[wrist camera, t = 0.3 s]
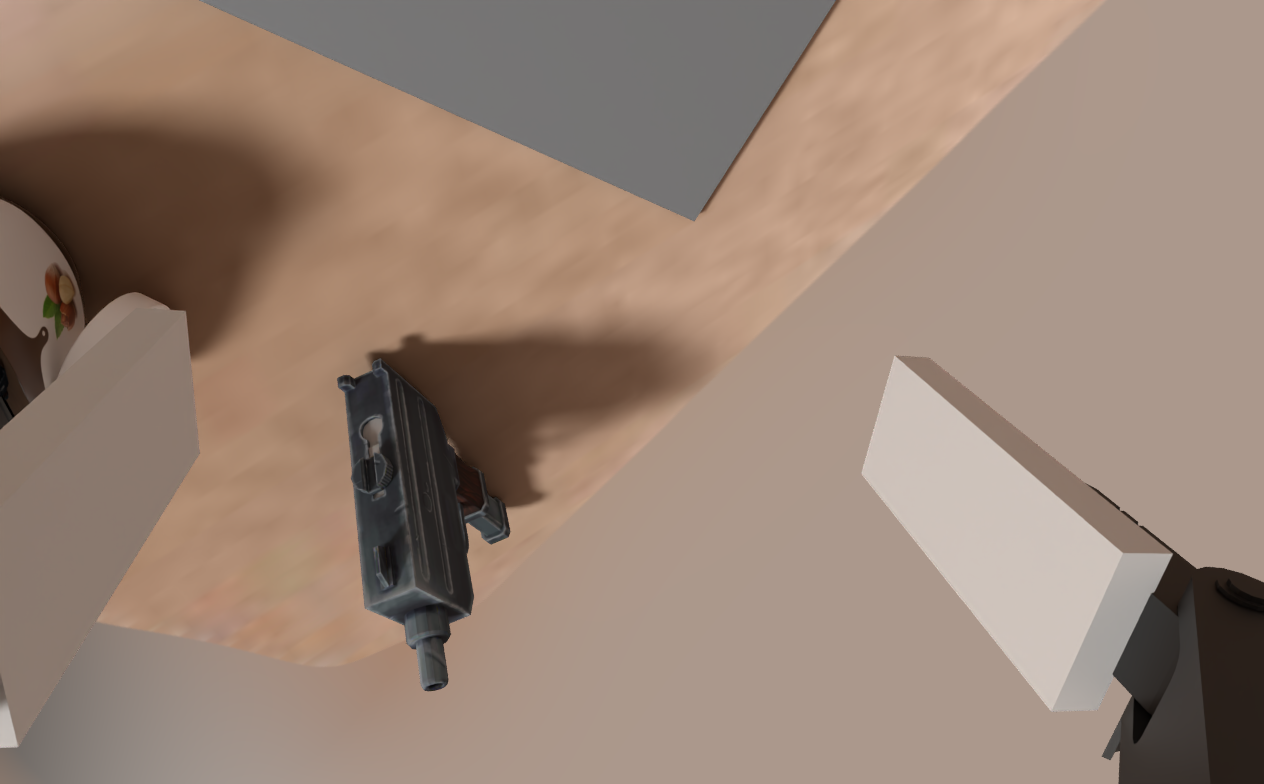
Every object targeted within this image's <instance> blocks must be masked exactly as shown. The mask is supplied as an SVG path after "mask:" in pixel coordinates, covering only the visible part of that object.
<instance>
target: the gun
mask: <svg viewBox="0 0 1264 784" xmlns="http://www.w3.org/2000/svg"><path fill="white" fill-rule="evenodd" d="M372 368H373V370H372V371H370V372H368V373H365V374H363V375H361V376H359V377H357V378H355V379H354V378H352V377H351V376H350V375H343V376H341V377H339V378H337V381H338V388H340V389H341V390H342V391H343V392H345V401H346V412H347V422H348V433H349V444H350V455H351V466H352V476H351V480H352V482H353V487H354V498H355V509H356V520H357V530H358V541H359V552H360V563H361V574H362V584H363V595H364V606H365V609H367V610H370V611H372V612H374V613H377V614H379V615H381V616H384V617H386V618H388V619H391V620H393V621H395V622H398V623H400V624H402V625H404V626H405V634H406V642H407V644H408V645H409V646H410V647H411V648H412V649H416V650H417V657H418V666H419V674H420V682H421V686H422V688H423V689H424V690H425V691H435V690H439V689H442V688H444V687H445V686H446V685H447V684H448V673H447V666H446V659H445V653H444V646H443V644H444V643H446V642H447V640H448V639H449V637H450V635H451V633H450V626H449V624H450V623H452V622H455V621H457V620H459V619H462V618H464V617H467V616H469V615H471V610H472V605H473V599H474V594H473V588H472V583H471V577H470V571H469V565H468V559H467V553H468V549H469V541H468V534H467V529H466V523H469V524H470V525H472V526H473V527H475V528H476V529H478V530H479V531H480V532H481V536H482V538H483V539H484V540H485V541H487V542H488V543H489V544H493V543H496V542H498V541H501V540H503V539H505V538H508V537H509V534H510V527H509V522H508V517H507V513H506V508H505V504H504V503H503V502H502V501H500V500H499V499H498V498H497V497H495V498H492V497H490V496H489V495H488V494H487V489H486V484H485V479H484V474H483V473H482V472H481V471H480V470H479V469H477V468H475V467H469V466H467V465H466V464H465V463H464V462H463V461H462V460H461V459H460V458H459V457H458V456H457V455H456V454H455V452H454V449H453V448H452V447H451V446H450V445H449V444H448V443H447V438H446V435H445V432H444V429H443V426H442V423H441V420H440V418H439V415H438V412H437V409H436V407H435V406H434V405H433V404H432V403H431V402H430V401H428V400H427V399H426V398H425V397H424V396H423V395H422V394H420V393H419V392H418V391H417V390H416V389H415V388H414V387H412V386H411V385H410V384H409V383H408V382H407V381H406V380H404V379H403V378H402V377H401V376H400V375H399V374H398V373H397V372H395V371H394V370H393V369H392V368H391V367H390V366H389V365H387V364H386V363H385V362H384V361H383V360H382V359H381V358H380V359H378V360H376V361H374V362H373V364H372Z"/></svg>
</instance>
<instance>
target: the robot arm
mask: <svg viewBox="0 0 1264 784" xmlns="http://www.w3.org/2000/svg"><path fill="white" fill-rule="evenodd" d="M199 454H200V451H199V440H198V430H197V420H196V409H195V399H194V389H193V379H192V368H191V358H190V348H189V338H188V327H187V317H186V311H178V310H162V309H147V308H135V309H134V310H133V311H132V312H131V313H130V314H129V315H128V316H126V317H125V318H124V319H123V320H122V321H121V322H120V323H119V324H118V325H116V326H115V327H114V328H113V329H112V330H111V331H110V332H109V333H108V334H106V335H105V336H104V337H103V338H102V339H101V340H100V341H99V342H98V343H96V344H95V345H94V346H93V347H92V348H91V349H90V350H89V351H87V352H86V353H85V354H84V355H83V356H82V357H81V358H80V359H79V360H77V361H76V362H75V363H74V364H73V365H72V366H71V367H70V368H69V369H67V370H66V371H65V372H64V373H63V374H62V375H61V376H60V377H59V378H57V379H56V380H55V381H54V382H53V383H52V384H51V385H50V386H49V387H47V388H46V389H45V390H44V391H43V392H42V393H41V394H40V395H38V396H37V397H36V398H35V399H34V400H33V401H32V402H31V403H30V404H28V405H27V406H26V407H25V408H24V409H23V410H22V411H21V412H20V413H18V414H17V415H16V416H15V417H14V418H13V419H12V420H11V421H10V422H8V423H7V424H6V425H5V426H4V427H3V428H2V429H1V430H0V748H1V747H18V746H19V745H20V743H21V741H22V740H23V738H24V737H25V735H26V733H27V732H28V730H29V729H30V727H31V725H32V724H33V722H34V721H35V719H36V717H37V716H38V714H39V712H40V711H41V709H42V708H43V706H44V704H45V703H46V701H47V699H48V698H49V696H50V695H51V693H52V691H53V690H54V688H55V686H56V685H57V683H58V682H59V680H60V678H61V677H62V675H63V674H64V672H65V670H66V669H67V667H68V666H69V664H70V662H71V661H72V659H73V657H74V656H75V654H76V653H77V651H78V649H79V648H80V646H81V644H82V643H83V641H84V640H85V638H86V636H87V635H88V633H89V631H90V630H91V628H92V627H93V625H94V623H95V622H96V620H97V619H98V617H99V615H100V614H101V612H102V611H103V609H104V607H105V606H106V604H107V602H108V601H109V599H110V598H111V596H112V594H113V593H114V591H115V590H116V588H117V586H118V585H119V583H120V581H121V580H122V578H123V577H124V575H125V573H126V572H127V570H128V568H129V567H130V565H131V564H132V562H133V560H134V559H135V557H136V556H137V554H138V552H139V551H140V549H141V547H142V546H143V544H144V543H145V541H146V539H147V538H148V536H149V535H150V533H151V531H152V530H153V528H154V526H155V525H156V523H157V522H158V520H159V518H160V517H161V515H162V514H163V512H164V510H165V509H166V507H167V505H168V504H169V502H170V501H171V499H172V497H173V496H174V494H175V492H176V491H177V489H178V488H179V486H180V484H181V483H182V481H183V480H184V478H185V476H186V475H187V473H188V471H189V470H190V468H191V467H192V465H193V463H194V462H195V460H196V459H197V457H198V455H199ZM862 475H863V476H864V478H865V479H866V480H867V481H868V483H869V484H870V485H871V486H872V487H873V489H874V490H875V491H876V493H877V494H878V495H879V496H880V498H881V499H882V500H883V501H884V503H885V504H886V505H887V506H888V508H889V509H890V510H891V511H892V513H893V514H894V515H895V516H896V518H897V519H898V520H899V521H900V523H901V524H902V525H903V526H904V527H905V529H906V530H907V531H908V533H909V534H910V535H911V536H912V538H913V539H914V540H915V541H916V543H917V544H918V545H919V546H920V548H921V549H922V550H923V551H924V553H925V554H926V555H927V556H928V558H929V559H930V560H931V561H932V563H933V564H934V565H935V566H936V568H937V569H938V570H939V571H940V573H941V574H942V575H943V576H944V578H945V579H946V580H947V582H948V583H949V584H950V585H951V587H952V588H953V589H954V590H955V592H956V593H957V594H958V595H959V597H960V598H961V599H962V600H963V601H964V603H965V604H966V605H967V607H968V608H969V609H970V610H971V611H972V613H973V614H974V615H975V616H976V618H977V619H978V620H979V621H980V623H981V624H982V625H983V627H984V628H985V629H986V630H987V632H988V633H989V634H990V635H991V637H992V638H993V639H994V640H995V641H996V643H997V644H998V645H999V647H1000V648H1001V649H1002V650H1003V652H1004V653H1005V654H1006V655H1007V657H1008V658H1009V659H1010V660H1011V662H1012V663H1013V664H1014V665H1015V667H1016V668H1017V669H1018V670H1019V672H1020V673H1021V674H1022V675H1023V677H1024V678H1025V679H1026V680H1027V682H1028V683H1029V684H1030V685H1031V687H1032V688H1033V689H1034V690H1035V692H1036V693H1037V694H1038V695H1039V697H1040V698H1041V699H1042V700H1043V702H1044V703H1045V704H1046V705H1047V707H1048V708H1049V709H1050V710H1051V711H1053V712H1054V711H1083V710H1098V708H1099V706H1100V704H1101V702H1102V700H1103V698H1104V696H1105V694H1106V691H1107V689H1108V687H1109V685H1110V683H1111V681H1112V679H1113V677H1116V679H1117V680H1118V681H1119V682H1120V683H1121V684H1122V685H1123V686H1124V687H1125V688H1126V689H1127V690H1128V691H1129V693H1130V694H1131V695H1132V697H1131V699H1130V701H1129V703H1128V705H1127V707H1126V709H1125V711H1124V713H1123V715H1122V717H1121V719H1120V721H1119V723H1118V725H1117V727H1116V729H1115V731H1114V733H1113V735H1112V737H1111V739H1110V741H1109V743H1108V745H1107V747H1106V749H1105V751H1104V753H1103V755H1102V757H1104V758H1107V759H1109V760H1111V758H1112V757H1113V755H1114V753H1115V752H1117V751H1120V763H1119V784H1264V582H1261V581H1259V580H1256V579H1254V578H1252V577H1249V576H1247V575H1244V574H1242V573H1239V572H1235V571H1231V570H1227V569H1224V568H1215V567H1203V568H1200V569H1196V568H1195V567H1194V566H1192V565H1191V564H1190V563H1189V562H1188V561H1186V560H1185V559H1184V558H1183V557H1181V556H1180V555H1179V554H1177V553H1176V552H1175V551H1174V550H1172V549H1171V548H1170V547H1169V546H1167V545H1166V544H1165V543H1164V542H1162V541H1161V540H1160V539H1159V538H1157V537H1156V536H1155V535H1154V534H1152V533H1151V532H1150V531H1149V530H1147V529H1146V528H1145V527H1144V526H1138V522H1137V521H1136V520H1135V519H1134V518H1132V517H1131V516H1130V515H1129V514H1127V513H1126V512H1125V511H1120V507H1118V506H1117V505H1116V504H1115V503H1114V502H1112V501H1111V500H1110V499H1109V498H1107V497H1106V496H1105V495H1103V494H1102V493H1101V492H1100V491H1099V490H1097V489H1095V488H1094V487H1092V486H1090V485H1088V484H1086V483H1084V482H1083V481H1082V480H1081V479H1079V478H1078V477H1077V476H1076V475H1074V474H1073V473H1072V472H1071V471H1069V470H1068V469H1067V468H1066V467H1064V466H1063V465H1062V464H1061V463H1059V462H1058V461H1057V460H1056V459H1054V458H1053V457H1052V456H1051V455H1049V454H1048V453H1047V452H1046V451H1044V450H1043V449H1042V448H1041V447H1040V446H1038V445H1037V444H1036V443H1034V442H1033V441H1032V440H1031V439H1030V438H1028V437H1027V436H1026V435H1025V434H1023V433H1022V432H1021V431H1020V430H1018V429H1017V428H1016V427H1014V426H1013V425H1012V424H1011V423H1009V422H1008V421H1007V420H1006V419H1005V418H1003V417H1002V416H1001V415H1000V414H998V413H997V412H996V411H995V410H993V409H992V408H991V407H990V406H988V405H987V404H986V403H985V402H983V401H982V400H981V399H980V398H979V397H977V396H976V395H975V394H974V393H972V392H971V391H970V390H969V389H967V388H966V387H965V386H963V385H962V384H961V383H960V382H958V381H957V380H956V379H955V378H954V377H952V376H951V375H950V374H949V373H947V372H946V371H945V370H943V369H942V368H941V367H940V366H939V365H937V364H936V363H935V362H934V361H933V360H931V359H930V358H926V357H910V356H894V359H893V363H892V367H891V370H890V374H889V377H888V381H887V385H886V388H885V392H884V395H883V398H882V402H881V406H880V409H879V413H878V416H877V420H876V423H875V427H874V430H873V434H872V438H871V441H870V445H869V449H868V452H867V455H866V459H865V462H864V466H863V470H862Z"/></svg>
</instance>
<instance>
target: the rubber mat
mask: <svg viewBox="0 0 1264 784" xmlns="http://www.w3.org/2000/svg"><path fill="white" fill-rule="evenodd" d="M200 1H202V2H204V3H206V4H209V5H211V6H213V7H215V8H218V9H220V10H222V11H224V12H227V13H229V14H231V15H233V16H236V17H238V18H240V19H242V20H245V21H247V22H249V23H251V24H254V25H256V26H258V27H260V28H262V29H265V30H267V31H269V32H271V33H274V34H276V35H278V36H280V37H283V38H285V39H287V40H289V41H292V42H294V43H296V44H298V45H301V46H303V47H305V48H307V49H310V50H312V51H314V52H316V53H318V54H321V55H323V56H325V57H327V58H330V59H332V60H334V61H336V62H339V63H341V64H343V65H345V66H348V67H350V68H352V69H354V70H357V71H359V72H361V73H363V74H365V75H368V76H370V77H372V78H374V79H377V80H379V81H381V82H383V83H386V84H388V85H390V86H392V87H395V88H397V89H399V90H401V91H404V92H406V93H408V94H410V95H413V96H415V97H417V98H419V99H421V100H424V101H426V102H428V103H430V104H433V105H435V106H437V107H439V108H442V109H444V110H446V111H448V112H451V113H453V114H455V115H457V116H460V117H462V118H464V119H466V120H469V121H471V122H473V123H475V124H477V125H480V126H482V127H484V128H486V129H489V130H491V131H493V132H495V133H498V134H500V135H502V136H504V137H507V138H509V139H511V140H513V141H516V142H518V143H520V144H522V145H524V146H527V147H529V148H531V149H533V150H536V151H538V152H540V153H542V154H545V155H547V156H549V157H551V158H554V159H556V160H558V161H560V162H563V163H565V164H567V165H569V166H572V167H574V168H576V169H578V170H580V171H583V172H585V173H587V174H589V175H592V176H594V177H596V178H598V179H601V180H603V181H605V182H607V183H610V184H612V185H614V186H616V187H619V188H621V189H623V190H625V191H627V192H630V193H632V194H634V195H636V196H639V197H641V198H643V199H645V200H648V201H650V202H652V203H654V204H657V205H659V206H661V207H663V208H666V209H668V210H670V211H672V212H675V213H677V214H679V215H681V216H683V217H686V218H688V219H690V220H692V221H695V220H696V218H697V216H698V215H699V213H700V212H701V210H702V209H703V207H704V206H705V204H706V202H707V201H708V199H709V198H710V196H711V195H712V193H713V191H714V190H715V188H716V187H717V185H718V184H719V182H720V181H721V179H722V177H723V176H724V174H725V173H726V171H727V170H728V168H729V166H730V165H731V163H732V162H733V160H734V159H735V157H736V156H737V154H738V152H739V151H740V149H741V148H742V146H743V145H744V143H745V141H746V140H747V138H748V137H749V135H750V134H751V132H752V131H753V129H754V127H755V126H756V124H757V123H758V121H759V120H760V118H761V117H762V115H763V113H764V112H765V110H766V109H767V107H768V106H769V104H770V102H771V101H772V99H773V98H774V96H775V95H776V93H777V92H778V90H779V88H780V87H781V85H782V84H783V82H784V81H785V79H786V77H787V76H788V74H789V73H790V71H791V70H792V68H793V67H794V65H795V63H796V62H797V60H798V59H799V57H800V56H801V54H802V52H803V51H804V49H805V48H806V46H807V45H808V43H809V42H810V40H811V38H812V37H813V35H814V34H815V32H816V31H817V29H818V27H819V26H820V24H821V23H822V21H823V20H824V18H825V17H826V15H827V13H828V12H829V10H830V9H831V7H832V6H833V4H834V3H835V1H836V0H200Z"/></svg>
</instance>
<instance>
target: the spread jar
mask: <svg viewBox="0 0 1264 784" xmlns="http://www.w3.org/2000/svg"><path fill="white" fill-rule="evenodd" d="M135 308H147V309H162V310H170V308H168V307H167V306H166V305H164V304H162V303H160V302H158V301H156V300H154V299H151V298H149V297H147V296H145V295H143V294H141V293H137V292H133V293H127V294H125V295H122V296H120V297H118V298H116V299H115V300H113V301H112V302H110V303H109V304H108V305H107V306H105V307H104V308H103V309H102V310H101V311H100V312H99V313H98V314H97V315H96V316H95V317H94V318H93V319H92V320H91V321H90V322H89V323H88V325H87V326H86V327H85V321H84V318H85V312H84V301H83V294H82V288H81V283H80V279H79V275H78V272H77V269H76V267H75V264H74V262H73V260H72V258H71V256H70V255H69V253H68V251H67V250H66V248H65V247H64V246H63V244H62V243H61V241H60V240H59V239H58V238H57V237H56V235H55V234H54V233H53V232H52V231H51V230H50V229H49V228H48V227H47V226H46V225H45V224H44V223H43V222H41V221H40V220H39V219H38V218H37V217H35V216H34V215H33V214H31V213H30V212H28V211H27V210H25V209H24V208H22V207H20V206H19V205H17V204H15V203H13V202H11V201H9V200H6V199H3V198H1V197H0V430H1V429H2V428H3V427H4V426H5V425H6V424H7V423H8V422H10V421H11V420H12V419H13V418H14V417H15V416H16V415H17V414H18V413H20V412H21V411H22V410H23V409H24V408H25V407H26V406H27V405H28V404H30V403H31V402H32V401H33V400H34V399H35V398H36V397H37V396H38V395H40V394H41V393H42V392H43V391H44V390H45V389H46V388H47V387H49V386H50V385H51V384H52V383H53V382H54V381H55V380H56V379H57V378H59V377H60V376H61V375H62V374H63V373H64V372H65V371H66V370H67V369H69V368H70V367H71V366H72V365H73V364H74V363H75V362H76V361H77V360H79V359H80V358H81V357H82V356H83V355H84V354H85V353H86V352H87V351H89V350H90V349H91V348H92V347H93V346H94V345H95V344H96V343H98V342H99V341H100V340H101V339H102V338H103V337H104V336H105V335H106V334H108V333H109V332H110V331H111V330H112V329H113V328H114V327H115V326H116V325H118V324H119V323H120V322H121V321H122V320H123V319H124V318H125V317H126V316H128V315H129V314H130V313H131V312H132V311H133V310H134V309H135Z"/></svg>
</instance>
